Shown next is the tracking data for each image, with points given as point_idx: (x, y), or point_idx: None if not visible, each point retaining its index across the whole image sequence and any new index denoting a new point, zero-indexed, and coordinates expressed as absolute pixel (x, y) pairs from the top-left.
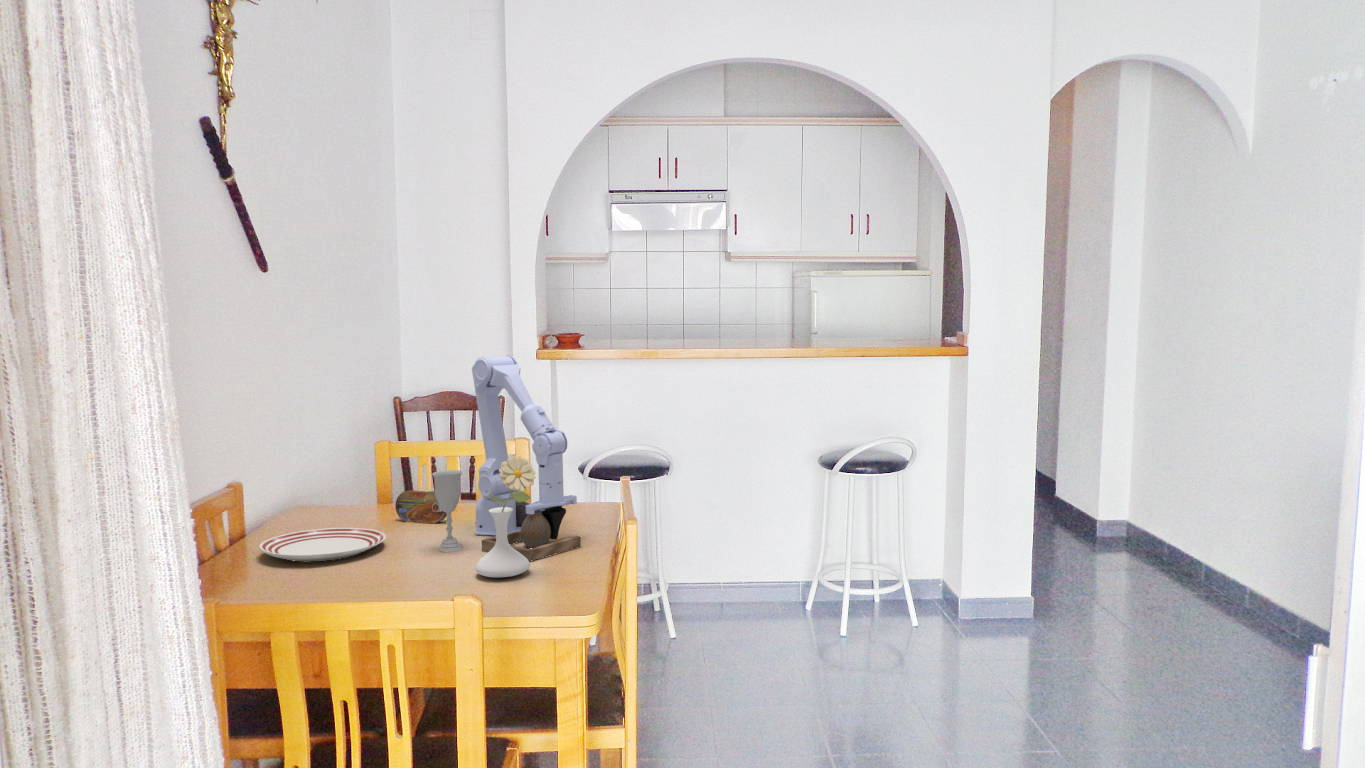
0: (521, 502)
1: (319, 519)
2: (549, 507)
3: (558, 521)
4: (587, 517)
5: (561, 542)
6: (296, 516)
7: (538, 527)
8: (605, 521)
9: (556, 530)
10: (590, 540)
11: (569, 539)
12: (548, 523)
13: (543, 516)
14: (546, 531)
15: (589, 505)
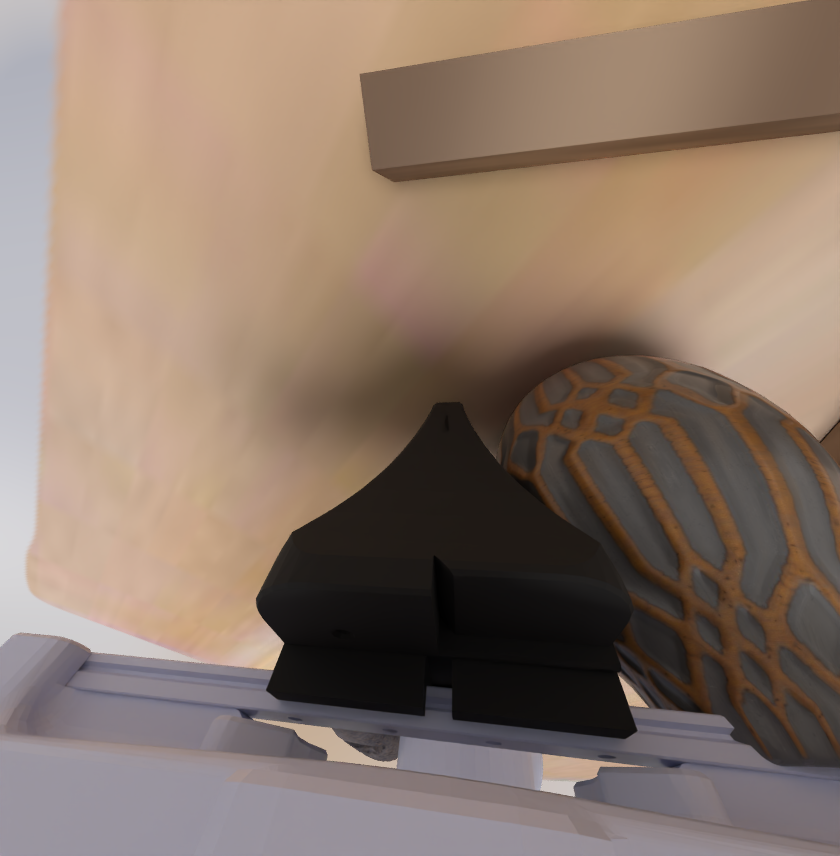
0: (353, 731)
1: (580, 764)
2: (521, 738)
3: (430, 475)
4: (127, 560)
5: (767, 12)
6: (580, 773)
7: (821, 458)
8: (55, 493)
9: (450, 428)
10: (217, 264)
11: (573, 54)
12: (611, 477)
13: (699, 600)
14: (680, 389)
15: (98, 612)
